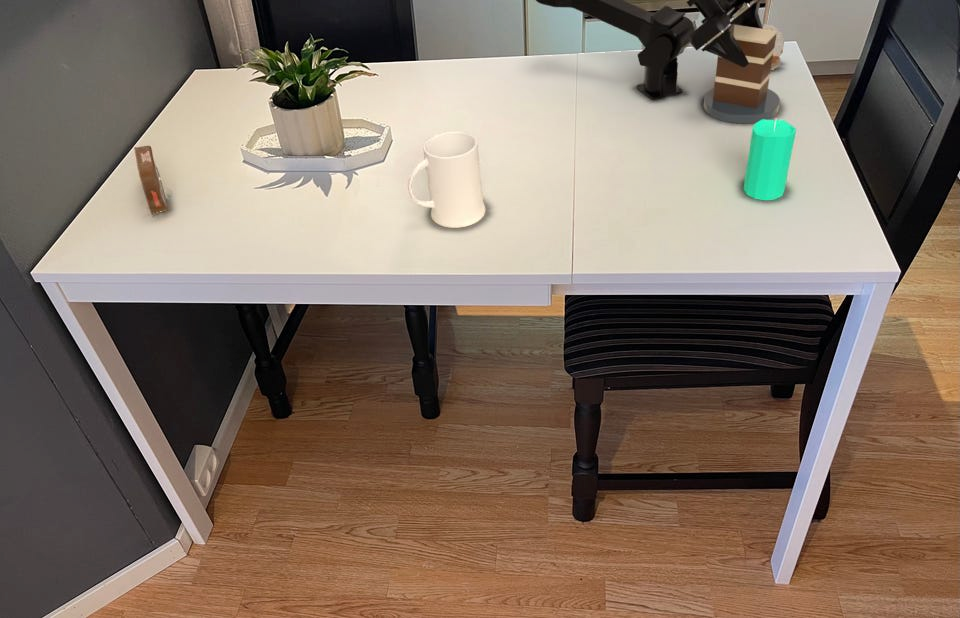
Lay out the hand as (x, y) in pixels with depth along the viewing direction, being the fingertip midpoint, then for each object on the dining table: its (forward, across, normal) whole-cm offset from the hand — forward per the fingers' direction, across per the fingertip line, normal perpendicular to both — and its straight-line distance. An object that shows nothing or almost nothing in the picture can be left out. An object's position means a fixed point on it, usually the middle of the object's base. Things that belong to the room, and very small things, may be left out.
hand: (756, 55), depth 135 cm
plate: (+6, 0, +8) cm, 10 cm away
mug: (-13, -54, +27) cm, 61 cm away
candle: (+15, -25, -1) cm, 29 cm away
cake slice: (+4, 0, +7) cm, 8 cm away
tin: (-46, -73, +60) cm, 105 cm away
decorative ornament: (+4, +18, +10) cm, 21 cm away
